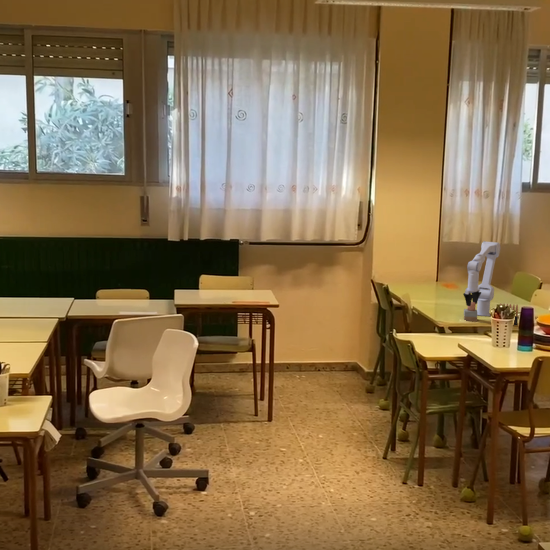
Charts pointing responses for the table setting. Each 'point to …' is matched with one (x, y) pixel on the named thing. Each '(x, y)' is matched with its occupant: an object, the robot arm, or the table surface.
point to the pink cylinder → (472, 306)
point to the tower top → (470, 313)
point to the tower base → (470, 318)
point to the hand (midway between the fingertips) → (471, 304)
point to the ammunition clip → (516, 313)
